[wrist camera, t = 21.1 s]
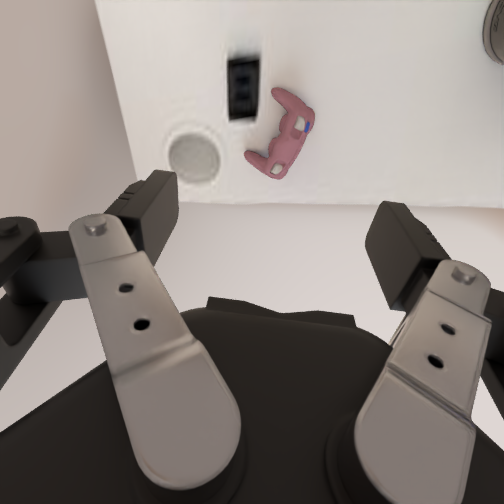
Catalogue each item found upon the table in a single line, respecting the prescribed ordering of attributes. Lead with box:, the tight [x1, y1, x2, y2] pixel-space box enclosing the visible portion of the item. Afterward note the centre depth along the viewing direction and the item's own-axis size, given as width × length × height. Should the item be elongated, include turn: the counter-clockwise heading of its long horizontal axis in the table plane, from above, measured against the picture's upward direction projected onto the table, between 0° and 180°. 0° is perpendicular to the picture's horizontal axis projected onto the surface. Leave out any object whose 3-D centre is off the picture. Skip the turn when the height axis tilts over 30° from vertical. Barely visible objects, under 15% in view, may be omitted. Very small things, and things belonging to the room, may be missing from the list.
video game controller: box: [244, 88, 315, 179], centre depth 37 cm, size 10×5×7 cm, turn 156°
